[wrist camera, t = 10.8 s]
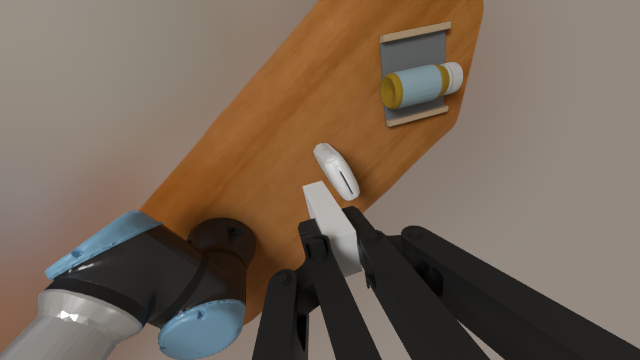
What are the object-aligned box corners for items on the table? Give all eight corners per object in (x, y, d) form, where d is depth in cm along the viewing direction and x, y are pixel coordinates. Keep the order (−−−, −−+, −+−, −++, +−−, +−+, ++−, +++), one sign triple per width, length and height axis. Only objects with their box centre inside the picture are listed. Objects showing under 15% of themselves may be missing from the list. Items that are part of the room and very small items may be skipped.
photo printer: (309, 149, 52) (323, 167, 41) (325, 138, 52) (344, 154, 41) (330, 184, 57) (348, 208, 46) (345, 174, 57) (367, 196, 46)
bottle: (383, 113, 52) (443, 98, 54) (400, 106, 45) (467, 89, 47) (376, 80, 51) (437, 67, 53) (392, 68, 44) (461, 53, 46)
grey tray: (385, 125, 55) (389, 126, 53) (379, 36, 47) (383, 35, 45) (442, 110, 57) (447, 111, 55) (444, 23, 49) (451, 21, 48)
